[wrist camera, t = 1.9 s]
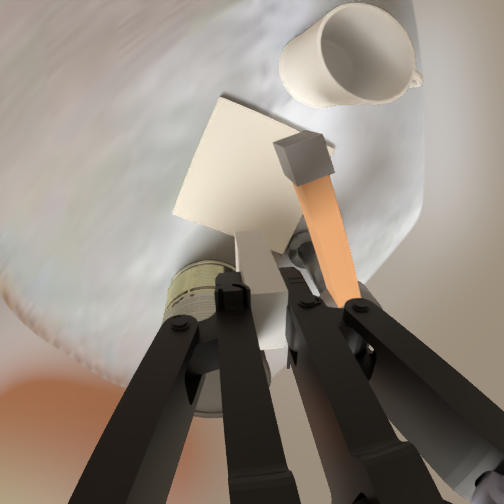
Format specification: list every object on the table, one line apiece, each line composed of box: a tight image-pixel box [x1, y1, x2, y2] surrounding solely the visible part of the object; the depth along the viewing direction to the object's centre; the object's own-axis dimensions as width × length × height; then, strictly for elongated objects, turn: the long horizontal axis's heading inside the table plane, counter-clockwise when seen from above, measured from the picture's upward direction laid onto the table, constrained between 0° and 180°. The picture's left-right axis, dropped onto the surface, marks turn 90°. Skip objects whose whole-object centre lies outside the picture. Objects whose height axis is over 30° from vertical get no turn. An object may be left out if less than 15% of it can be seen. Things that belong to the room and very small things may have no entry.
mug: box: [279, 3, 423, 108], centre depth 24 cm, size 12×8×12 cm
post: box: [288, 230, 326, 294], centre depth 32 cm, size 4×4×12 cm
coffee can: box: [162, 260, 271, 418], centre depth 32 cm, size 10×10×14 cm
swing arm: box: [272, 131, 383, 310], centre depth 22 cm, size 17×5×4 cm, turn 21°
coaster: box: [172, 97, 334, 254], centre depth 33 cm, size 13×13×1 cm
